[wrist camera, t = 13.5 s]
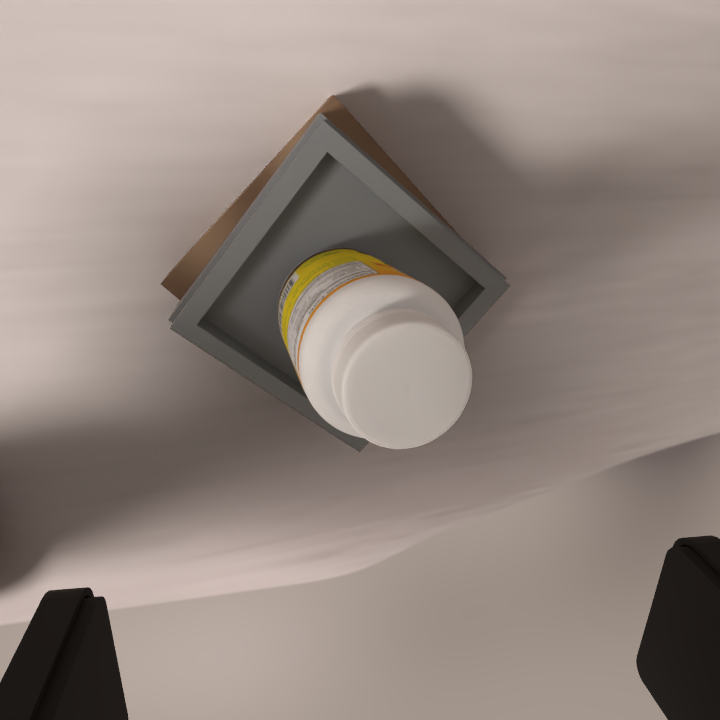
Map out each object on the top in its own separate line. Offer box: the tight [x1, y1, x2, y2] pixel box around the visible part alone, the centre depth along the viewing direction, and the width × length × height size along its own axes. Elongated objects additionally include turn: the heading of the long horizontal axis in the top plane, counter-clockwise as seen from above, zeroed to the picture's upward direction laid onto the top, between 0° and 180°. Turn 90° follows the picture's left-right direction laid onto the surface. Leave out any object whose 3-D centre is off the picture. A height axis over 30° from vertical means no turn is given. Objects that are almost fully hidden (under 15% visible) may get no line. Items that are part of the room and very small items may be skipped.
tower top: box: [169, 113, 510, 452], centre depth 26 cm, size 11×11×4 cm
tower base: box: [161, 95, 458, 300], centre depth 30 cm, size 12×12×3 cm
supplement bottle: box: [277, 248, 472, 449], centre depth 21 cm, size 6×6×10 cm
